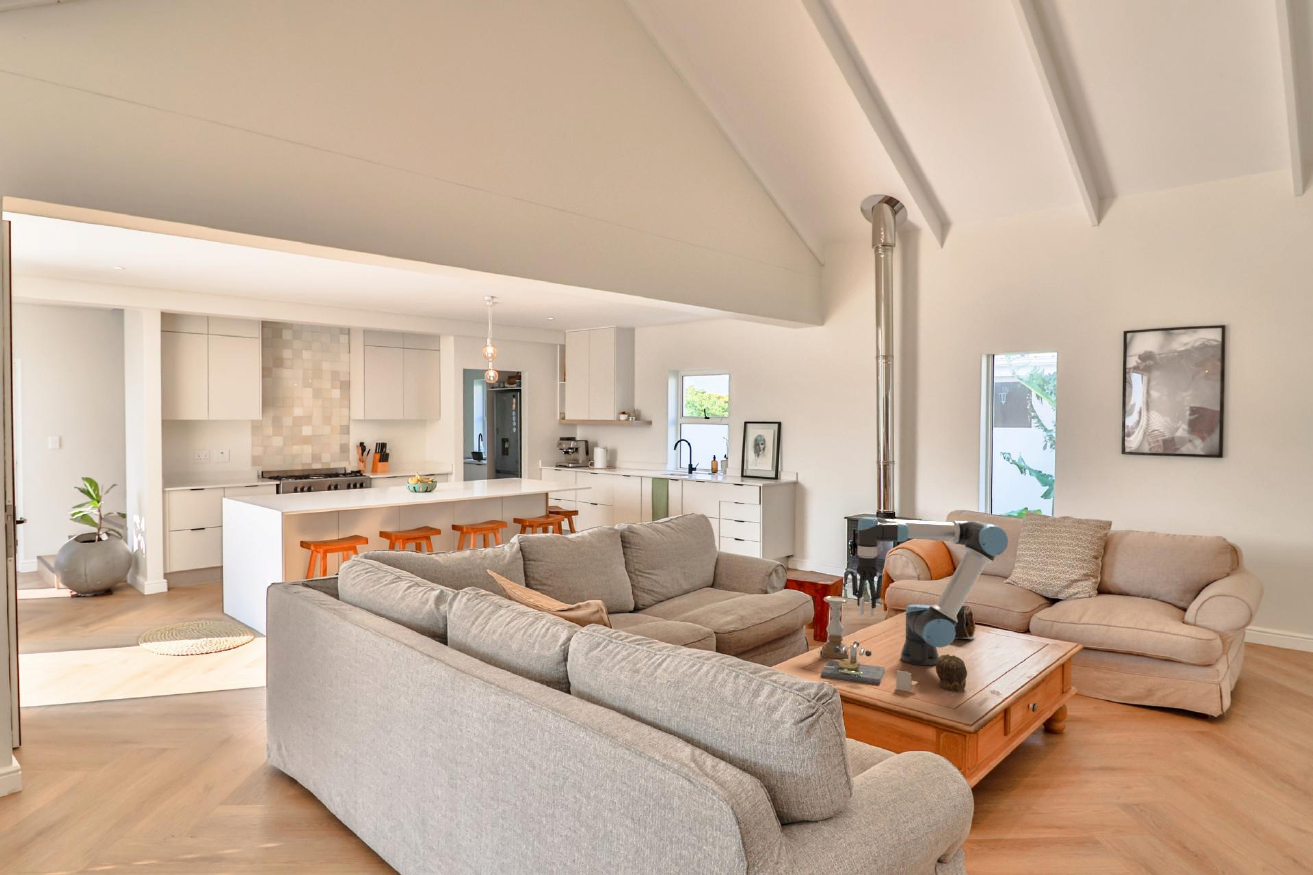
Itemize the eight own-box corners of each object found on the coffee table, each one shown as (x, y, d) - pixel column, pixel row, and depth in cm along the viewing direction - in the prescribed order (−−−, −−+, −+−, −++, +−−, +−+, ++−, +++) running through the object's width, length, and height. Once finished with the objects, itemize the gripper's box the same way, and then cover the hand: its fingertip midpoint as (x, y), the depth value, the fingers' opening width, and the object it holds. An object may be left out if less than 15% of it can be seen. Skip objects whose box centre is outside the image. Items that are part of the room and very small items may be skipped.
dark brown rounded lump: (930, 683, 298) (931, 652, 298) (958, 682, 299) (958, 651, 299) (943, 693, 287) (943, 660, 287) (972, 692, 288) (972, 660, 288)
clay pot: (918, 602, 379) (971, 600, 364) (925, 633, 379) (978, 632, 364) (908, 612, 367) (962, 610, 352) (915, 644, 367) (970, 643, 352)
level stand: (884, 671, 311) (884, 661, 311) (879, 684, 296) (880, 673, 296) (828, 664, 319) (828, 655, 319) (821, 676, 304) (821, 666, 304)
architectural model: (899, 687, 294) (900, 667, 294) (917, 691, 290) (918, 671, 290) (895, 689, 292) (896, 670, 292) (913, 694, 287) (914, 674, 287)
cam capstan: (874, 665, 312) (875, 642, 312) (870, 675, 300) (870, 652, 299) (837, 660, 318) (838, 638, 318) (832, 670, 305) (832, 647, 305)
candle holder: (848, 658, 328) (849, 602, 327) (822, 657, 330) (822, 600, 329) (847, 651, 338) (848, 596, 338) (821, 649, 340) (822, 595, 340)
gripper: (891, 557, 308) (890, 616, 309) (851, 552, 318) (850, 610, 319) (883, 560, 302) (882, 620, 303) (843, 555, 312) (843, 613, 313)
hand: (866, 614), depth 311 cm, fingers open, 3 cm apart
